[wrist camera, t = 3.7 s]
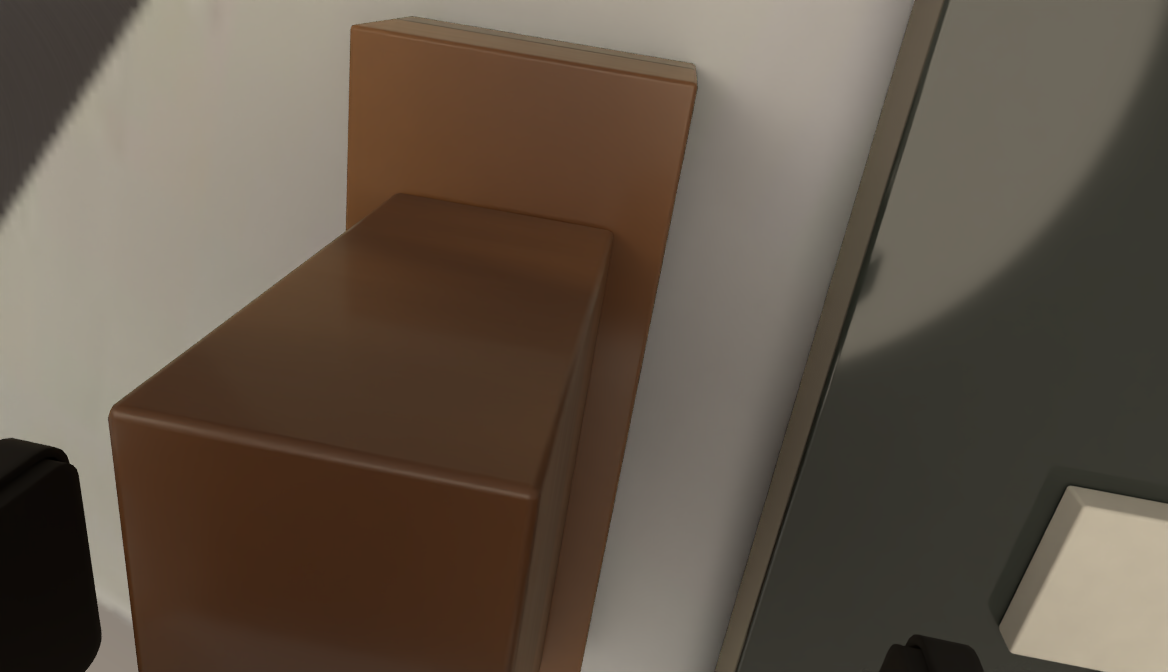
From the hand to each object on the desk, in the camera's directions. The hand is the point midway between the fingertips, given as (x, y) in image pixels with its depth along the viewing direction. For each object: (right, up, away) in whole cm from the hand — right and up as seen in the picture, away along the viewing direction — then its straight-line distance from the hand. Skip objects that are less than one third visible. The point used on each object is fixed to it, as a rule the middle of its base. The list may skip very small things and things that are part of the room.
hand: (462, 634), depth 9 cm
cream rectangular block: (+11, -1, +4) cm, 11 cm away
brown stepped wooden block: (0, +3, +5) cm, 6 cm away
